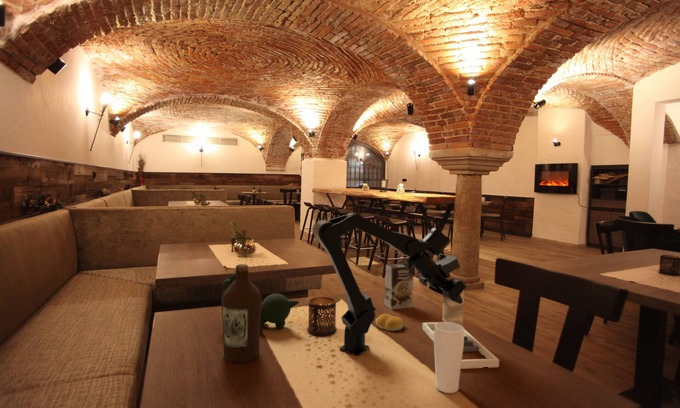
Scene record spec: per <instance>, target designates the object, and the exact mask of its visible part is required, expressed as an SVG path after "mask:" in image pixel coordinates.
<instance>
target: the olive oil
mask: <svg viewBox="0 0 680 408" xmlns="http://www.w3.org/2000/svg"><path fill="white" fill-rule="evenodd" d="M248 268H249V265H248V264H245V263H244V264H243V263H242V264H237V265H235V273H236V279H235V281H234V282H233V283H232V284H231V285H230V286H229V287H228V288H227V289H226V290H225V292H224V294H223V295H222V297H221V314H222V315H221V316H222V320H221V321H222V336H223V337H222V338H223V342H222V343H223V358H224V359H225V360H226V361H228V362H232V363H244V362H249V361H252V360H254V359H256V358H257V357H258V356H259V354H260V334H261V333H260V332H261V329H260V319H261V304H262V302H263V301H262V300H263V299H262V295H261V292H260V290H259V288H258V287H257V286H256V285H255V284H254V283H253V282H252V281H251V280H250V279H249V269H248Z"/></svg>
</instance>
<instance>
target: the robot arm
mask: <svg viewBox="0 0 680 408" xmlns="http://www.w3.org/2000/svg"><path fill="white" fill-rule="evenodd" d="M355 229H357V230H359V231H361V232H364V233H366V234H368V235H370V236H372V237H374V238H376V239H378V240H381V241H382V242H385V243H386V244H387V245H388V246H389V247H390V248H392V249H393V250H395V252H398V253H400V254H403V255H405V256H407V257H405V258H404V257H403V260H404V261H403V264H404V266H405V267H407V268H409V269H410V268H411V267H412V266H413V267H414V269H415V270H416V271H417V272H418V275H419V277H418V282H419V283H420V284H421V285H422V286H424V287H426V288H427V287H428V289H429V290H431V291H433V292H435V293H437V294H439V295H441V296H442V297H443V296H444V297H445V298H447V299H450V300H451V301H454V302H457V303H459V304H461V303H462V302H463V301H462V298H461V296H460V294H461V293H462V292H463V290H464V291H465V289H466V288H467V284H466V282H465V281H463V280H462V279H459V278H457V277H454V278H453V277H452V278H451V279H449V278H450V277H451V274H450V273H452V272H454V271H456V270H459V269H460V268H461V265H460V262H459V260H458V257H456V256H454V255H448V254H447V255H445V254H443V251H445V249H446V248H447V247H448V246H449V244H451V239H450V238H449V237H448V236H447V235H445V234H444V233H443V232H441V230H439V229H438V228H436V227H432V228H431V229H430V231H429V232H428V233H427V234H426V236H425V237H424V238H423V239H419V238H416V237H414V236H411V235H408V234H405V233H402V232H398V231H393V230H390V229H388V228H386V227H384V226H382V225H380V224H378V223H375V222H373V221H371V220H369V219H367V218H366V217H363V216H361V215H360V214H359V213H355V212H348V213H347V214H344V215H341V216H338V217H334V218H332V219H328V220H326V219H322V220H321V219H320V220H318V221H317V222H316V223H315V224H314V226H313V229H312V231H313V235H314V237H315V238H316V240H317V241H318V242H319V244H320V246H321V247H322V248H323V249H324V251H325V252H326V253H327V255H328V257H329V259H330V261H331V265H332V267H333V268H334V270H335V272H336V275H337V277H338V280H339V282H340V284H341V286H342V289H343V291H344V293H345V296H346V304H347V309H348V310H347V311H346V312H345V313H343V315H342V316H340V317H341V318H340V319H341V321H342V324H343V325H344V326H345V328H344V330H343V331H344V337H343V338H344V339H343V345H342V346H340V347H339V350H340V351H341V352H346V353H349V354H352V355H355V356H359V355H361V354H362V353H364V352H366V351H367V350H368V349H370V345H367V344H366V334H368V332H369V330H370V328H371V324H372V323H374V321H375V318H376V312H375V311H377V309H376V308H375V307H374V304H373V301H372V298H371V296H370V295H368V294H367V293H366V292H364V291H362V292H361V289H360V287H359V285H358V283H357V280H356V278H355V275H354V274H353V272H352V269H351V267H350V265H349V262H348V260H347V257H346V256H345V254H344V251H343V249H342V248H343V247H342V246H343V245H342V238H341V237H342V236H344V235H346V234H347V233H350V232H351V231H352V230H355ZM434 256H436V261H435V260H434V259H433V258H432V257H434Z"/></svg>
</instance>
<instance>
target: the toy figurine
mask: <svg viewBox="0 0 680 408" xmlns="http://www.w3.org/2000/svg"><path fill="white" fill-rule="evenodd" d="M235 279H236V272H234V273H232V274H231V275H230V277H229V278H226V279H225V280H223V282H222V283H221V284H220V286H221V287H222V288H223V290H222V291H221V295H222V296H223V294H224V292H225V290H226V289H227V288H228V287H229V286H230V285H231V284H232V283H233V282H234V281H235ZM299 303H300V301H299V300H294V299H293V300H292V299H291V300H290V299H288V297H286V296H285V295H284V294H281V293H272V294H269V295H267V296H266V297H265V298H264V299H263V301H262V304H261V319H260V330H261V329H262V328H264V326H265V324H266V323H267V322H268V323H270V324H274V325H275V327H276V328H277V329H283V328H284V326H286V319H288V317H289V315H290V313H291V310H292V309H293V308H294V307H296V306H297V305H298V304H299Z"/></svg>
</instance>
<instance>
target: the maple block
mask: <svg viewBox="0 0 680 408" xmlns="http://www.w3.org/2000/svg"><path fill="white" fill-rule="evenodd" d="M460 296H461V298H462V301H463V302H462V303H461V304H459V303H457V302H454V301H451V300H450V299H447V298H445V297H444V296H443V295H442V313H441V314H442V317H441V319H442V322H452V323H456V324H459V325H463V324H464V306H465V289H464V290H463V292H462V293H461V294H460Z"/></svg>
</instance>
